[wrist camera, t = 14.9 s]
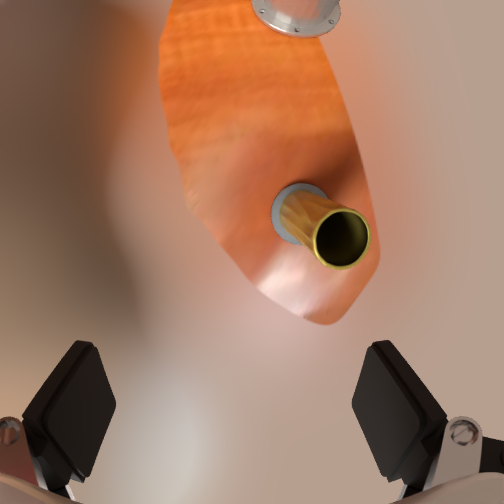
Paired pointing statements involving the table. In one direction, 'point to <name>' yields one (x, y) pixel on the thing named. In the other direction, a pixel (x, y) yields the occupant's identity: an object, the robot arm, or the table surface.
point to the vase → (326, 229)
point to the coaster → (277, 205)
